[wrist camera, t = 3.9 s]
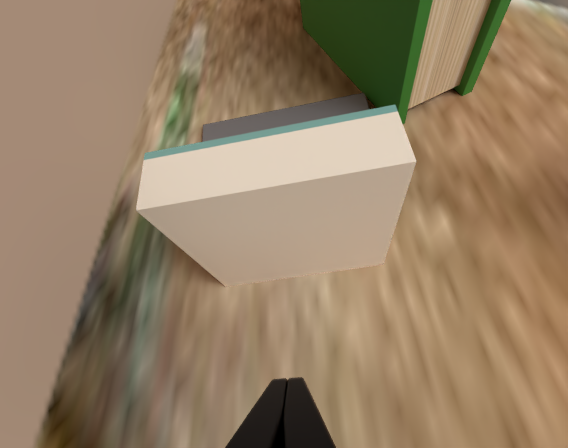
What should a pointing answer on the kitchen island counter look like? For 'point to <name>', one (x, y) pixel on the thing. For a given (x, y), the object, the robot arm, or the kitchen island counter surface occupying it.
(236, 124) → the mat
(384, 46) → the hardback book
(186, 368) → the kitchen island counter surface
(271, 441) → the robot arm
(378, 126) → the tile
